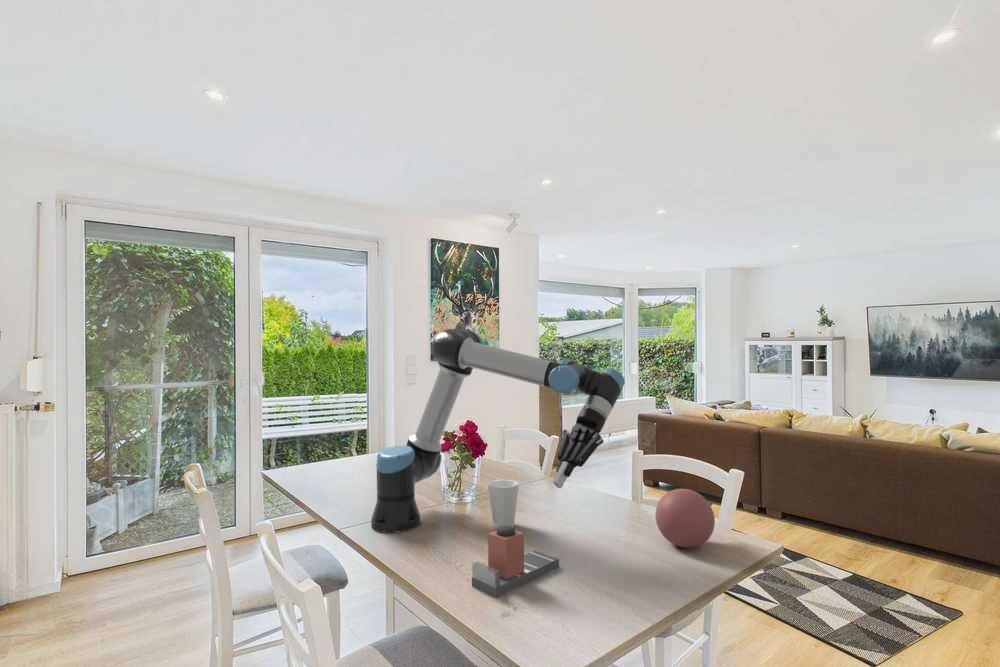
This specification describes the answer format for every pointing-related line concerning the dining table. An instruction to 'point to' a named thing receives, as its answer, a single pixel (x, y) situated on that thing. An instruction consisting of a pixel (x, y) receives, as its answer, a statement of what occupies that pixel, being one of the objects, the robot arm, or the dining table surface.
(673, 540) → the balloon
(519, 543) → the plug
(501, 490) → the foam cup
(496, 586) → the track
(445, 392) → the robot arm
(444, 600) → the dining table surface
